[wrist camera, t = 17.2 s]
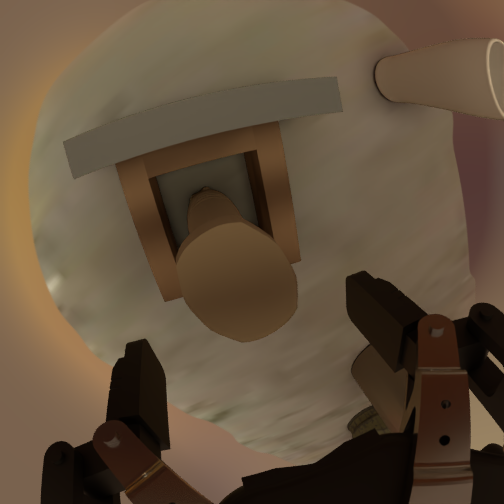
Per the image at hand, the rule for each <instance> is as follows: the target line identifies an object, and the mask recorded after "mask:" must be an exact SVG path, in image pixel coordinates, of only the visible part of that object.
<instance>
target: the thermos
mask: <svg viewBox="0 0 504 504" xmlns="http://www.w3.org/2000/svg"><path fill="white" fill-rule="evenodd" d="M374 428H375V429H376V431H377V432H378V434H379V435H380V434H385V433H391V432H390V430H389V429H388V427H387V426H386V425H385V423H384V422H383V420H382V419H381V417H380V416H379V414H378V413H377V411H376V410H375V408H374V407H373V406H370V407H368V408H366V409H364V410H362V411H361V412H359V413H358V414H357V415H356V416H354V417H353V418H352V419H351V421H350V422H349V424H348V429H349V430H350V432H351V434H352V438H355V437H357V436H359V435H361V434H364V433H366V432H368V431H370V430H372V429H374Z"/></svg>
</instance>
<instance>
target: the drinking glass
mask: <svg viewBox="0 0 504 504" xmlns="http://www.w3.org/2000/svg"><path fill="white" fill-rule="evenodd" d="M375 80H376V84H377V86H378V88H379V90H380V92H381V93H382V94H383V95H384V96H385V97H386V98H387V99H389V100H390V101H393V102H396V103H411V104H418V105H424V106H429V107H435V108H440V109H445V110H449V111H454V112H458V113H463V114H467V115H472V116H477V117H483V118H489V119H496V120H504V43H503V42H502V41H501V40H499V39H496V38H468V39H459V40H452V41H448V42H443V43H439V44H435V45H431V46H427V47H423V48H420V49H416V50H412V51H409V52H405V53H401V54H398V55H393V56H388V57H385V58H383V59H381V60H380V61H379V62H378V64H377V66H376V69H375Z"/></svg>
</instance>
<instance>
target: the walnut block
mask: <svg viewBox="0 0 504 504" xmlns="http://www.w3.org/2000/svg"><path fill="white" fill-rule="evenodd" d="M243 152H244V156H245V161H246V166H247V170H248V175H249V180H250V185H251V189H252V194H253V199H254V204H255V209H256V214H257V218H258V223H259V227H258V228H260V229H262V230H263V231H264V232H266V233H267V234H269V235H270V236H271V237H272V238H273V239H274V240H275V242H276V243H277V244H278V245H279V247H280V248H281V250H282V251H283V253H284V255H285V256H286V258H287V260H288V261H289V263H290V264H293V263H296V262H299V261H301V258H300V250H299V243H298V236H297V229H296V223H295V216H294V209H293V203H292V197H291V191H290V184H289V178H288V173H287V167H286V161H285V155H284V150H283V144H282V139H281V133H280V128H279V123H278V121H274V122H268V123H263V124H258V125H252V126H248V127H243V128H238V129H234V130H229V131H225V132H220V133H216V134H212V135H208V136H204V137H200V138H196V139H192V140H189V141H185V142H181V143H178V144H174V145H171V146H167V147H164V148H161V149H157V150H154V151H151V152H148V153H145V154H142V155H139V156H136V157H133V158H130V159H127V160H124V161H121V162H118V163H115V164H116V168H117V171H118V175H119V178H120V181H121V184H122V188H123V191H124V194H125V197H126V200H127V203H128V206H129V209H130V212H131V215H132V218H133V221H134V224H135V227H136V229H137V232H138V235H139V238H140V241H141V243H142V246H143V249H144V251H145V254H146V257H147V259H148V262H149V264H150V267H151V269H152V272H153V274H154V277H155V279H156V282H157V284H158V287H159V289H160V292H161V294H162V296H163V299H164V301H165V302H166V301H170V300H173V299H177V298H180V297H183V295H182V291H181V287H180V283H179V278H178V274H177V269H176V255H177V253H178V247H177V244H176V241H175V238H174V235H173V232H172V229H171V226H170V222H169V219H168V216H167V213H166V210H165V206H164V203H163V200H162V196H161V193H160V190H159V186H158V183H157V179H156V176H158V175H161V174H165V173H168V172H171V171H175V170H178V169H182V168H185V167H189V166H192V165H196V164H200V163H203V162H207V161H211V160H215V159H219V158H222V157H226V156H231V155H235V154H239V153H243Z"/></svg>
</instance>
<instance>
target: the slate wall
mask: <svg viewBox="0 0 504 504" xmlns="http://www.w3.org/2000/svg"><path fill="white" fill-rule="evenodd" d="M336 112H343V110H342V104H341V98H340V92H339V86H338V81H337V77H322V78H308V79H298V80H288V81H280V82H272V83H265V84H258V85H252V86H246V87H240V88H234V89H229V90H224V91H219V92H214V93H210V94H205V95H201V96H196V97H192V98H188V99H184V100H180V101H177V102H173V103H169V104H166V105H162V106H159V107H155V108H152V109H149V110H145V111H142V112H139V113H136V114H133V115H130V116H127V117H124V118H121V119H118V120H116V121H113V122H110V123H107V124H105V125H102V126H100V127H97V128H94V129H92V130H89V131H87V132H85V133H82V134H80V135H77V136H75V137H73V138H71V139H68V140H66V141H64V142H63V144H64V148H65V151H66V155H67V158H68V162H69V165H70V169H71V172H72V175H73V179H76V178H79V177H81V176H84V175H86V174H89V173H91V172H94V171H96V170H99V169H102V168H104V167H107V166H110V165H112V164H115V163H118V162H121V161H124V160H127V159H130V158H133V157H136V156H139V155H142V154H145V153H148V152H151V151H154V150H157V149H161V148H164V147H167V146H171V145H174V144H178V143H181V142H185V141H189V140H192V139H196V138H200V137H204V136H208V135H212V134H216V133H220V132H225V131H229V130H234V129H238V128H243V127H248V126H252V125H258V124H263V123H268V122H274V121H279V120H285V119H291V118H298V117H304V116H312V115H319V114H327V113H336Z"/></svg>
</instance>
